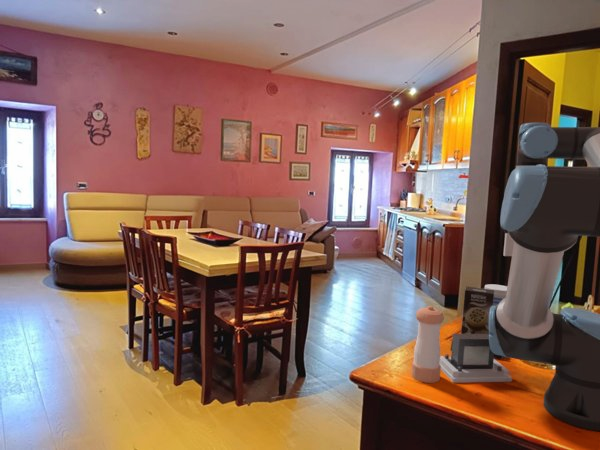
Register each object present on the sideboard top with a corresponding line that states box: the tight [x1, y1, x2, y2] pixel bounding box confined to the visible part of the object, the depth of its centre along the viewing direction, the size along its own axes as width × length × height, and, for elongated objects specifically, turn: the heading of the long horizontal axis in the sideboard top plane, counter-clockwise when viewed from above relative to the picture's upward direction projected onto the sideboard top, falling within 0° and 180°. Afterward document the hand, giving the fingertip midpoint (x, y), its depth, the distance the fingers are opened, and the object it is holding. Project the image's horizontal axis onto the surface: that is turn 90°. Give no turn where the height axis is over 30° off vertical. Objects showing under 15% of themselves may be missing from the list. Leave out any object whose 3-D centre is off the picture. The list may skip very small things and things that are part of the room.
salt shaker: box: [411, 305, 445, 384], centre depth 119 cm, size 7×7×19 cm
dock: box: [439, 354, 513, 384], centre depth 123 cm, size 12×16×3 cm
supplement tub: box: [483, 283, 508, 306], centre depth 161 cm, size 10×10×15 cm
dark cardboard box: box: [460, 285, 494, 334], centre depth 151 cm, size 9×6×16 cm
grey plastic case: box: [450, 333, 495, 369], centre depth 123 cm, size 4×10×9 cm, turn 95°
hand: (522, 260), depth 124 cm, fingers open, 13 cm apart
